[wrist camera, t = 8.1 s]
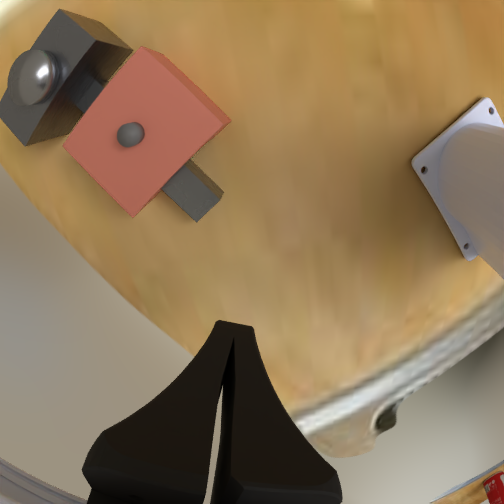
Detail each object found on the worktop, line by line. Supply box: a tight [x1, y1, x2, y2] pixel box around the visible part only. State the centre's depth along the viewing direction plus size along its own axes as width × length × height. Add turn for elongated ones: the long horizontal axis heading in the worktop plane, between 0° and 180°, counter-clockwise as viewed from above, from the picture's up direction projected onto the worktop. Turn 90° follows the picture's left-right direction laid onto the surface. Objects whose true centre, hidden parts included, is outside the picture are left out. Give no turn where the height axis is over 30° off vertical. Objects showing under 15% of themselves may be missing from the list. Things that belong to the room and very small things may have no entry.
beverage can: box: [483, 471, 504, 504], centre depth 38 cm, size 6×6×15 cm
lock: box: [63, 46, 231, 217], centre depth 16 cm, size 6×7×4 cm
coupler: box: [0, 9, 224, 222], centre depth 15 cm, size 14×7×6 cm, turn 44°
